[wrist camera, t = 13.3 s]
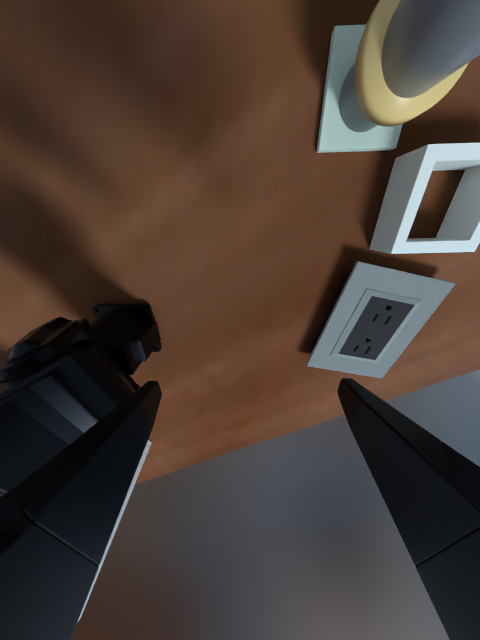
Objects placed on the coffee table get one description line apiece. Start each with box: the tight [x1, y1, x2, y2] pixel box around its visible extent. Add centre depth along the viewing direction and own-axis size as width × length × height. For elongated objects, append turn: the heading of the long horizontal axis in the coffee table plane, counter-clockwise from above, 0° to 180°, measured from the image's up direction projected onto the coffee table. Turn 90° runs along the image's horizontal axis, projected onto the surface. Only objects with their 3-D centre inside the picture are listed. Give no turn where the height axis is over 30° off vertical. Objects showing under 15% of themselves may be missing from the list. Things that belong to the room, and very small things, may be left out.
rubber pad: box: [316, 25, 403, 153], centre depth 13 cm, size 6×6×1 cm
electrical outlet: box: [306, 261, 455, 378], centre depth 22 cm, size 13×10×2 cm
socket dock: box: [369, 143, 480, 254], centre depth 15 cm, size 7×7×3 cm
